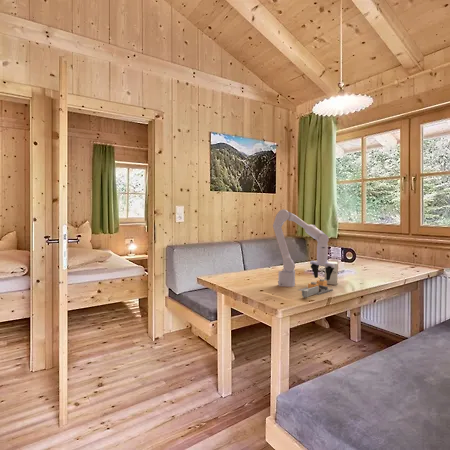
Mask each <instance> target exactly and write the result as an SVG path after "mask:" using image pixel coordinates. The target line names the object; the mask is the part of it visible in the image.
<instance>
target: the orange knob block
mask: <svg viewBox="0 0 450 450" xmlns="http://www.w3.org/2000/svg"><path fill="white" fill-rule="evenodd" d="M316 284H319V285H322V286H327V287H328V284H327V281H325V280H324V279H323V278H320V279H318V280H316Z"/></svg>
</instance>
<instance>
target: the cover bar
mask: <svg viewBox="0 0 450 450" xmlns="http://www.w3.org/2000/svg"><path fill="white" fill-rule="evenodd" d="M317 293H319V286H316V287H312V288H309V289H305V290H302V291H301V297H302V298H308V297H310V296H313V295H316V294H317Z"/></svg>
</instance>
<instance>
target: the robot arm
mask: <svg viewBox="0 0 450 450" xmlns="http://www.w3.org/2000/svg"><path fill="white" fill-rule="evenodd" d="M286 221H289V222H294V223H295V224H297V225H298V226H300V228H301V227H302V228H303V229H304V232H305V233H306V234H307V235H308V236H310V237H311V238H313V239H314V240H316V242H317V245H316V260H310V261H309V262H310V263H309V265H310V268H311V270H312V273H313V276H314V279H316V278H319V277H318V276H319V268H320V267H324V270H325V269H326V279H327V280H330V276H331V273H332V271H333V270H334V267H335V264H332V263H328V261H329V260H328V257H329V256H328V253H329V252H328V251H329V250H328V248H329V247H328V246H329V245H328V243H329V241H330V239H329V236H328V235H327V234H326V233H324V231H323V230H320V229H319V228H317V226H316V224H308V223H307V222H306V221H304V220H302V219H301V218H300V217H299V216H297V215H296V214H294V213H292V212H291V211H288V210H287V209H280V210H279V211H278V212H277V214H276V215H275V218H274V221H273V224H272V228H273V231H274V235H275V238H276V241H277V245H278V247H279V248H278V249H279V251H280V254H281V257H282V266H283V268H282V269H281V270H278V279H277V280H278V281H277V283H278V285H277V286H278V287H288V288H289V287H290V288H293V287H295V286H296V270H295V267H296V264H295V262H294V259H292V258H291V254H290V252H289V247H288V245H287V241H286V238H285V235H284V231H283V226H284V223H285V222H286ZM325 266H326V268H325Z"/></svg>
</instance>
